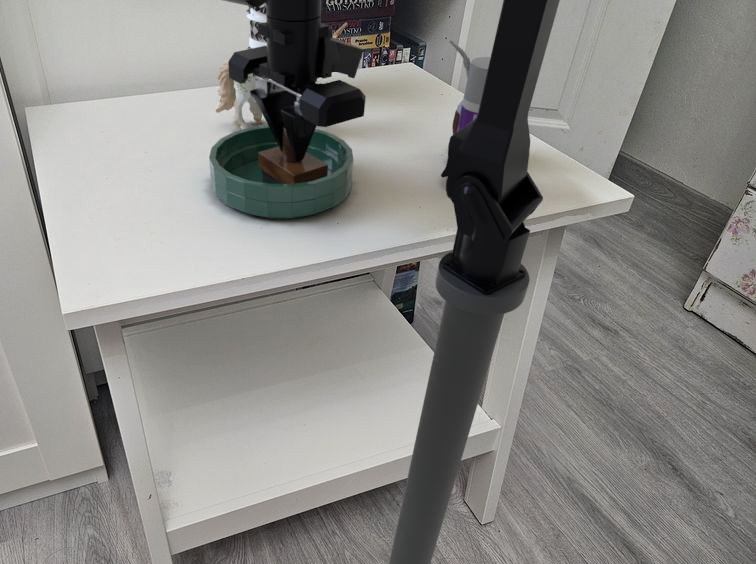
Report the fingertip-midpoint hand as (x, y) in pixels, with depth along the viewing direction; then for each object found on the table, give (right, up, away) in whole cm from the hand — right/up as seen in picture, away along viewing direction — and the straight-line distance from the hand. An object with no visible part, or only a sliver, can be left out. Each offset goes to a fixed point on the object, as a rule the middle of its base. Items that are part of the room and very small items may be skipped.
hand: (292, 156), depth 77 cm
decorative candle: (-3, +19, +30) cm, 36 cm away
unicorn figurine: (-1, +11, +20) cm, 23 cm away
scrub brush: (0, -3, +3) cm, 4 cm away
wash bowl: (-1, -3, +5) cm, 5 cm away
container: (+22, -2, +6) cm, 23 cm away
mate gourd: (+24, +3, +11) cm, 27 cm away
